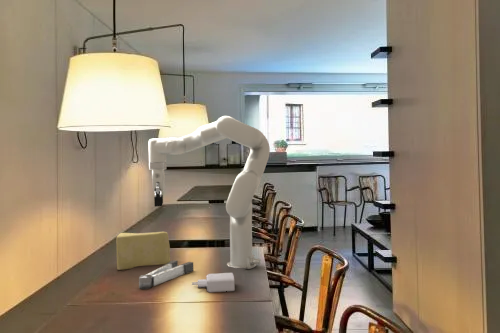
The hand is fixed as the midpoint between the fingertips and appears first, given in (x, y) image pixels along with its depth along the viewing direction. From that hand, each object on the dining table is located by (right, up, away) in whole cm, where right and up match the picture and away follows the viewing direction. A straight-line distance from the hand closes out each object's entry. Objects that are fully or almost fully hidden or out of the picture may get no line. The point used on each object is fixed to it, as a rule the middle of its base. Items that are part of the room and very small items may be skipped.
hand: (158, 205), depth 186 cm
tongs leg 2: (+11, -26, -24) cm, 37 cm away
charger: (+27, -27, -35) cm, 52 cm away
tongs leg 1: (+6, -26, -22) cm, 34 cm away
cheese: (-6, -27, -2) cm, 28 cm away
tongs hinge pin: (+3, -26, -35) cm, 44 cm away
